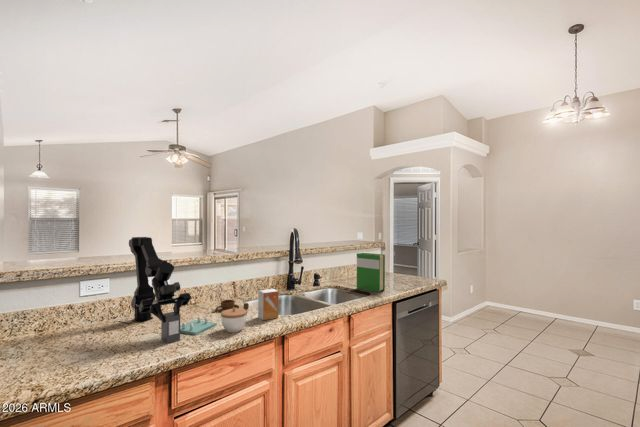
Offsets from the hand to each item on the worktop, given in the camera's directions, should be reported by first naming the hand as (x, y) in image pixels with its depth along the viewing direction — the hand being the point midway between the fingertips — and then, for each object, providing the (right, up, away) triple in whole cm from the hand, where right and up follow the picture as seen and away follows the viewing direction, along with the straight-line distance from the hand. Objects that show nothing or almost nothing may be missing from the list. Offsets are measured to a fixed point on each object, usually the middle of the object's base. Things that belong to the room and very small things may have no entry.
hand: (171, 320), depth 127 cm
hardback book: (+93, -10, +92) cm, 131 cm away
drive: (0, -8, 0) cm, 8 cm away
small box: (+34, -8, +29) cm, 45 cm away
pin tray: (+4, -8, +13) cm, 16 cm away
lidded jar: (+22, -8, +12) cm, 26 cm away
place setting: (+12, -9, +39) cm, 42 cm away
